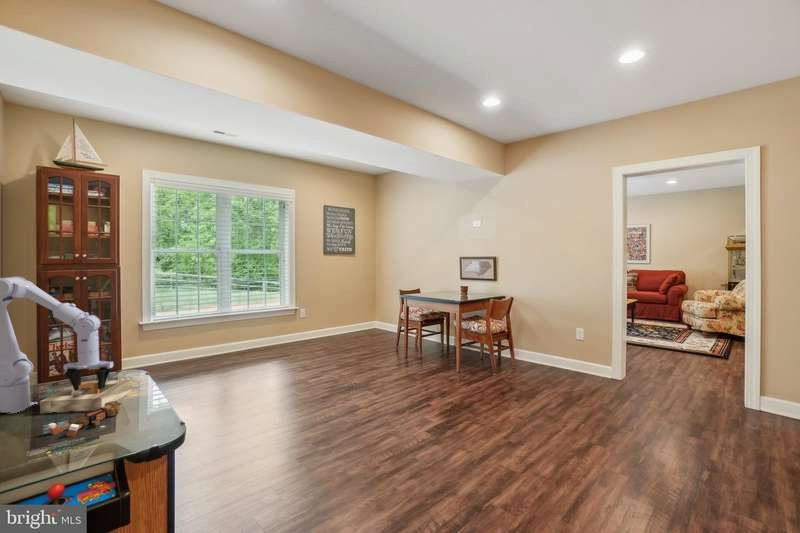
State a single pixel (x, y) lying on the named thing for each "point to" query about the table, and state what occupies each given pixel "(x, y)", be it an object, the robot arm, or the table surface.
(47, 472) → the table surface
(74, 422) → the character figurine
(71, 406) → the rectangular frame
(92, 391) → the bracket
